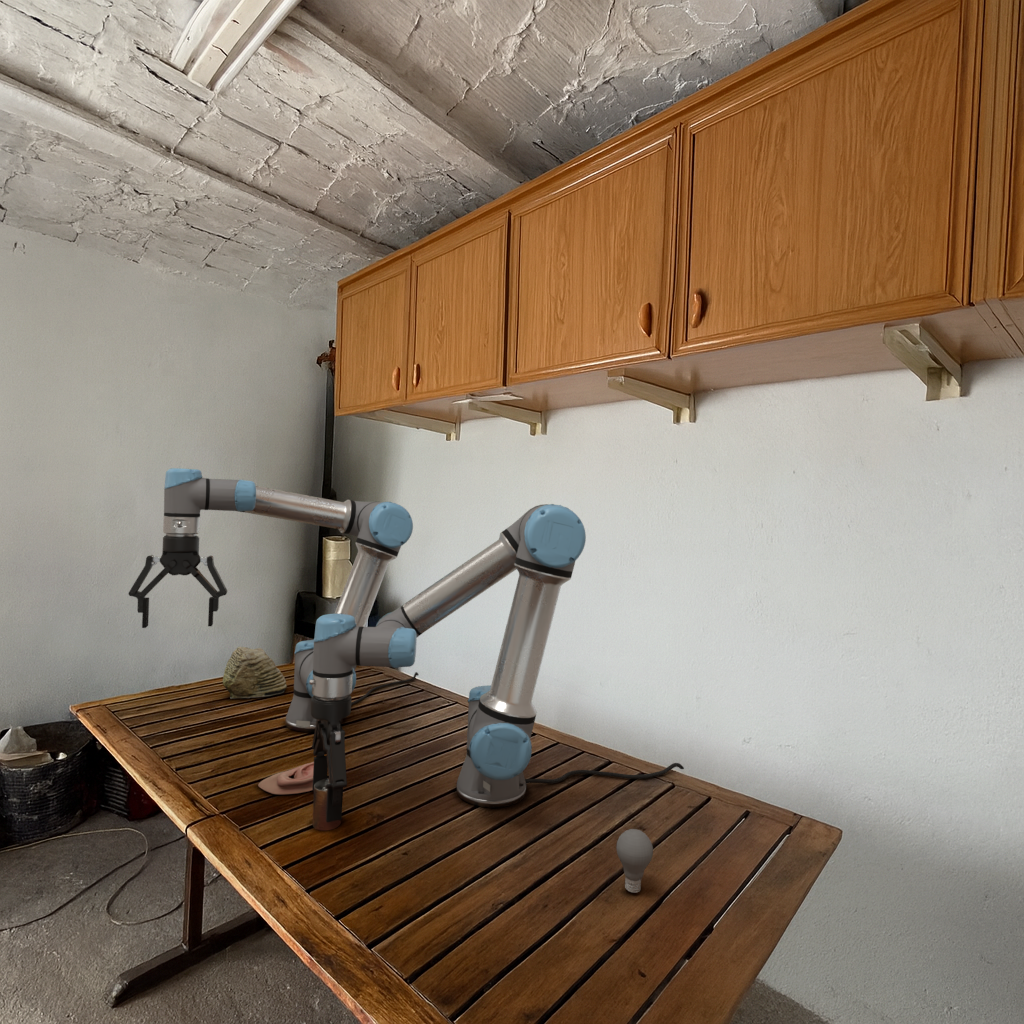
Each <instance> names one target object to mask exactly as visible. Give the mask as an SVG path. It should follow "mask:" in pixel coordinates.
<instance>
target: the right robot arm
mask: <svg viewBox="0 0 1024 1024" xmlns="http://www.w3.org/2000/svg"><path fill="white" fill-rule="evenodd" d="M586 538H587V535H586V528H585V526H584V524H583V521H582V519H581V518H580V517H579V516H578V515H577V514H576V513H575V512H574V511H573V510H571V509H570V508H569V507H568V506H567V507H566V506H563V505H561V504H554V503H550V504H549V503H548V504H547V503H546V504H539V505H535V506H533V507H531V508H529V509H528V510H527V511H526V512H525V513H523V515H521V516H520V517H519V518H517V520H516V521H514V522H513V523H511V525H510V526H507V528H505V529H504V530H502V531H501V532H500V533H499V538H498V539H497V540H496V541H494V542H493V543H491V544H490V545H488V546H487V547H486V548H484V549H483V550H481V551H480V552H478V553H477V554H475V555H474V556H472V557H471V558H470V559H468V560H467V561H465V562H464V563H462V564H461V565H459V566H458V567H456V568H455V569H453V570H452V571H450V572H449V573H447V574H446V575H444V576H443V577H442V578H440V579H438V580H437V581H436V582H434V583H433V584H431V585H429V586H428V587H426V588H425V589H424V590H422V591H421V592H420V593H418V594H416V595H415V596H413V597H412V598H410V599H409V600H408V601H405V603H403V604H402V605H401V606H399V607H398V608H396V609H395V610H393V611H391V612H388V613H386V614H385V615H383V616H381V618H379V620H378V621H377V622H376V625H375V626H365V627H360V626H356V623H355V618H354V617H353V616H351V615H345V614H335V613H327V614H322V615H321V616H319V617H318V618H317V619H316V621H315V629H314V638H313V639H312V640H313V642H314V655H313V679H312V680H310V681H309V684H310V685H312V694H313V695H314V696H313V697H312V698H311V716H312V717H313V718H315V719H317V721H316V726H315V732H313V739H312V744H311V749H312V750H313V756H314V757H313V762H314V768H313V788H312V789H313V790H312V791H314V785H315V783H316V782H318V781H320V780H324V779H329V784H327V785H326V786H325V787H326V789H328V790H327V810H326V822H332V821H337V820H341V821H342V820H343V800H344V788H346V787H347V786H348V780H347V764H346V762H347V761H346V745H345V743H346V742H345V739H346V731H345V729H343V725H341V724H340V720H342V719H343V720H344V719H346V718H347V717H349V716H350V715H351V713H352V705H351V702H352V696H351V694H352V693H353V691H352V683H353V666H356V667H378V668H379V667H381V668H394V669H398V668H407V667H408V668H411V667H412V666H414V664H415V662H416V654H417V640H418V639H417V638H419V637H420V636H421V635H422V634H424V633H425V632H426V631H428V630H429V629H431V628H432V627H434V626H436V625H437V624H438V623H440V622H441V621H443V620H444V619H446V618H448V616H450V615H451V614H453V613H454V612H456V611H458V610H459V609H460V608H462V607H463V606H465V605H466V604H468V603H469V602H471V601H472V600H474V599H475V598H477V597H478V596H480V595H481V594H483V593H484V592H486V591H487V590H489V589H491V587H493V586H494V585H496V584H497V583H498V582H500V581H502V580H503V579H505V578H506V577H508V576H509V575H510V574H513V572H515V571H517V572H518V579H517V583H516V587H515V589H514V590H515V591H514V595H513V598H512V603H511V606H510V610H509V614H508V618H507V622H506V624H505V625H506V626H505V630H504V634H503V637H502V642H501V646H500V648H499V652H498V653H499V654H498V658H497V661H496V664H495V669H494V673H493V677H492V680H491V684H489V685H478V686H475V687H473V688H471V689H470V690H469V692H468V693H469V694H468V699H467V703H468V708H467V710H468V711H467V728H466V729H467V732H466V733H467V734H466V753H465V754H466V755H465V758H464V761H463V764H462V766H461V769H460V772H459V775H458V777H457V780H456V794H457V796H458V797H459V798H460V799H461V800H462V801H464V802H466V803H468V804H470V805H473V806H476V807H481V808H492V809H493V808H505V807H509V806H513V805H515V804H518V803H520V802H521V801H522V800H523V799H524V798H525V796H526V793H527V792H526V791H527V784H547V785H548V784H550V785H553V784H558V783H561V782H563V781H564V780H566V779H567V778H569V777H571V776H574V775H590V776H591V775H592V776H601V777H613V778H620V779H627V780H644V779H652V778H656V777H659V776H664V775H666V774H667V773H669V772H670V771H671V770H673V769H674V768H679V769H680V770H684V769H685V767H684V766H683V765H682V764H681V763H679V762H673V763H671V764H670V765H668V766H667V767H666V768H664V769H662V770H659V771H655V772H651V773H645V774H628V773H627V774H626V773H618V772H612V771H611V772H610V771H600V770H592V769H591V770H590V769H575V770H570V771H568V772H566V773H564V774H563V775H561V776H560V777H557V778H552V779H547V778H525V774H524V771H525V770H526V768H527V767H528V765H529V764H530V762H531V758H532V752H533V751H532V748H533V745H532V741H531V737H532V733H533V729H534V725H535V722H536V717H537V713H538V712H537V711H538V710H537V709H536V708H535V706H534V704H533V698H534V693H535V691H536V686H537V682H538V678H539V676H540V675H539V674H540V671H541V667H542V662H543V659H544V655H545V651H546V647H547V643H548V639H549V635H550V631H551V627H552V625H553V624H552V623H553V620H554V615H555V611H556V608H557V603H558V600H559V595H560V593H561V592H560V591H561V588H562V586H563V585H564V584H565V583H567V582H568V581H570V580H572V575H573V573H574V572H573V571H574V568H575V564H576V561H577V560H578V559H579V557H580V556H581V554H582V553H583V552H584V549H585V546H586V540H587V539H586Z"/></svg>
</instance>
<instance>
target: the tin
mask: <svg viewBox="0 0 1024 1024" xmlns="http://www.w3.org/2000/svg"><path fill="white" fill-rule="evenodd" d="M327 784H329V778H327V779H324V780H320V781H318V782H316V783H315V785H314V790H313V804H312V828H314V829H315V830H317V831H325V832H326V831H332V830H334V829H337V828H338V827H339V826H340V825H341V823H342V820H337V821H332V822H326V810H327V790H328V789H326V787H325V786H326V785H327Z"/></svg>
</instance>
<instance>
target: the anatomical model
mask: <svg viewBox="0 0 1024 1024" xmlns="http://www.w3.org/2000/svg"><path fill="white" fill-rule="evenodd" d="M313 768H314V761H312V762H308V763H305V764H302V765H299V766H297V767H294V768H291V769H288V770H286V771H281V772H278V773H275V774H273V775H270V776H267V777H266V778H264V779H263V780H261V781H260V782H259V783H258V784H257V786H258V787H259V788H260V789H261V790H263V791H264V792H267V793H269V794H271V795H295V794H301V793H306V792H307V793H308V792H310V791H314V790H313V789H312V788H313Z"/></svg>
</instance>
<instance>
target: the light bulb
mask: <svg viewBox="0 0 1024 1024" xmlns="http://www.w3.org/2000/svg"><path fill="white" fill-rule="evenodd" d="M615 849H616V854H617V857H618V859H619V861H620V863H621V865H622V867H623V873H624V874H623V875H624V876H625V878H624V888H625V890H627V891H628V892H630V893H634V894H635V893H639V892H640V891H641V889H642V887H641V886H642V879H643V877H644V875H645V871H646V868H647V867H648V866H649V864H650V863H651V861H652V859H653V855H654V847H653V843H652V841H651V838H649V836H648V835H647V834H646V833H645V832H643V831H642V830H641V829H636V828H629V829H627V830H625V831H623V832H622V833H621V834H620V835H619V837H618V839H617V841H616V847H615Z"/></svg>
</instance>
